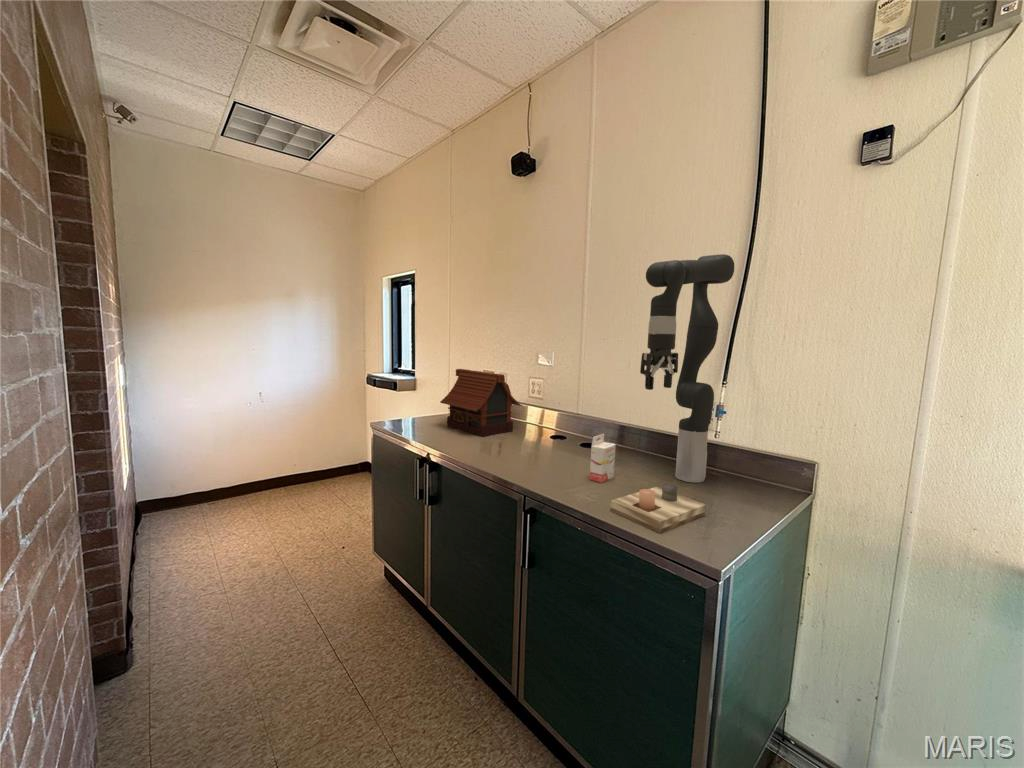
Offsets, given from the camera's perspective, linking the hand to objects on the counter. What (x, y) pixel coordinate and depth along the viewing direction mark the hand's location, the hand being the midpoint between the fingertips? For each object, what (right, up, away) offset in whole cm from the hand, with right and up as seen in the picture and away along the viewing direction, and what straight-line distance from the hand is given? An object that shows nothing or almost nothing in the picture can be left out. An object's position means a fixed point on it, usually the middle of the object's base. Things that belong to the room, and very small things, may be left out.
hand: (658, 388), depth 125 cm
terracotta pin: (-7, -33, -10) cm, 36 cm away
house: (-60, -21, +91) cm, 111 cm away
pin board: (-3, -34, -7) cm, 35 cm away
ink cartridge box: (-12, -31, +20) cm, 39 cm away
